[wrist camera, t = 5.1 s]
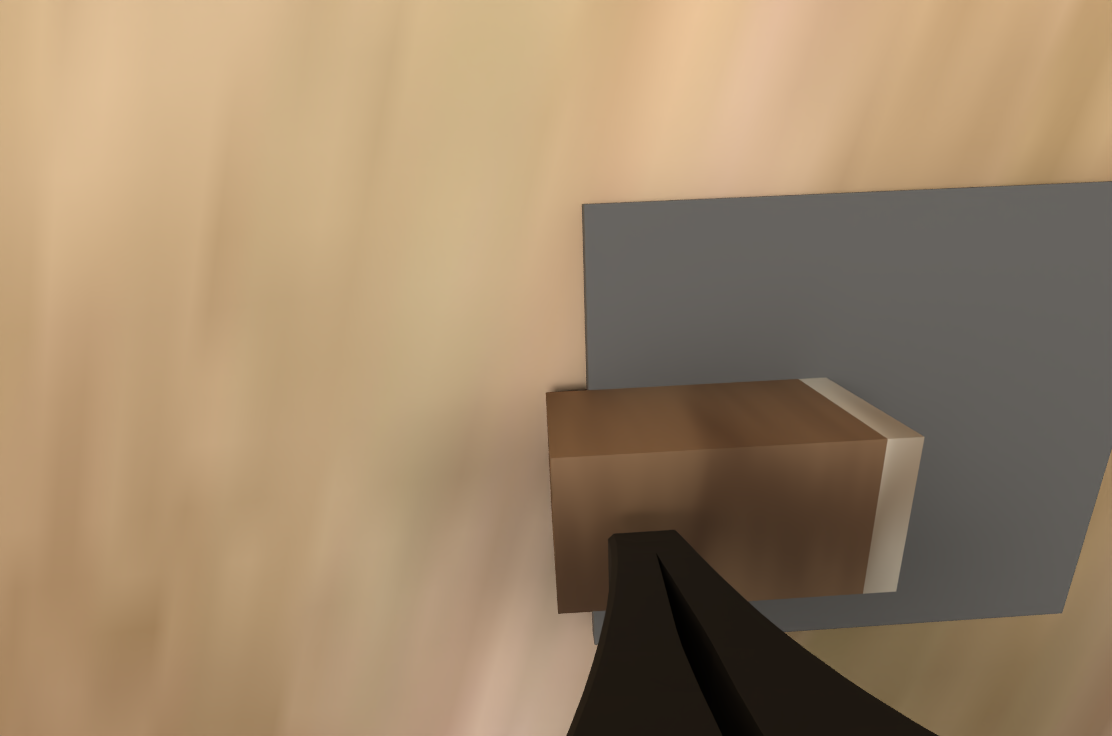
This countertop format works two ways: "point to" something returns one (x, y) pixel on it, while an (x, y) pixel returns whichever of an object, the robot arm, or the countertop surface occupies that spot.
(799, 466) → the walnut block
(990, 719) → the countertop surface
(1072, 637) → the countertop surface
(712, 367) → the rubber mat
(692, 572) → the robot arm
